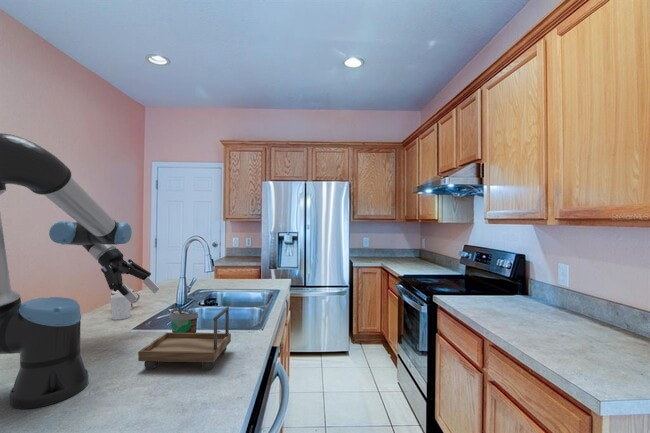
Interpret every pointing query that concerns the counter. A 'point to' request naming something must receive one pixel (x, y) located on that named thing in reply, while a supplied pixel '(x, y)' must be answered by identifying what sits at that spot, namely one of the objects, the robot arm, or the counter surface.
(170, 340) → the dolly
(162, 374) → the counter surface
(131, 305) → the teacup with lid
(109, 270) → the robot arm
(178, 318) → the food container
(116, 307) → the white cup
